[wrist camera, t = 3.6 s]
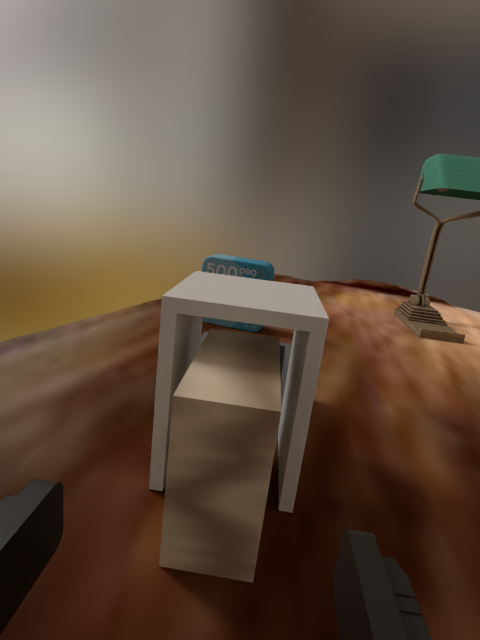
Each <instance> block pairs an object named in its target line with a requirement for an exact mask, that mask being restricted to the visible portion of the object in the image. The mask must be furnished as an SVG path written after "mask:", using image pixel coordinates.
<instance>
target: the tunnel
mask: <svg viewBox="0 0 480 640" xmlns="http://www.w3.org/2000/svg"><path fill="white" fill-rule="evenodd" d="M203 317H208V318H215V319H222V320H229V321H236V322H243V323H251V324H258V325H265V326H272V327H279V328H286V329H293V330H294V335H293V341H292V347H291V353H290V360H289V366H288V372H287V378H286V384H285V390H284V396H283V402H282V408H281V417H280V423H279V429H278V501H279V511H285V512H291V513H293V507H294V502H295V497H296V491H297V486H298V481H299V476H300V470H301V465H302V460H303V454H304V449H305V444H306V438H307V433H308V428H309V422H310V417H311V412H312V407H313V401H314V396H315V391H316V385H317V380H318V375H319V369H320V364H321V359H322V354H323V348H324V343H325V338H326V332H327V327H328V322H329V318H328V316H327V314H326V312H325V310H324V308H323V306H322V304H321V302H320V300H319V298H318V296H317V294H316V291H315V289H314V287H312V286H305V285H297V284H290V283H282V282H275V281H267V280H260V279H253V278H245V277H238V276H230V275H223V274H215V273H208V272H200V271H195V272H194V273H193V274H191V275H190V276H189V277H187V278H186V279H184V280H183V281H182V282H180V283H179V284H178V285H176V286H175V287H174V288H172V289H171V290H169V291H168V292H167V293H165V294H164V295H162V306H161V320H160V335H159V350H158V364H157V379H156V394H155V408H154V423H153V438H152V452H151V467H150V482H149V489H152V490H158V491H163V489H164V486H165V484H166V475H167V463H168V450H169V438H170V426H171V414H172V401H173V395H174V393H175V391H176V389H177V387H178V386H179V384H180V382H181V380H182V379H183V377H184V375H185V373H186V372H187V370H188V368H189V366H190V364H191V363H192V361H193V359H194V357H195V356H196V354H197V352H198V350H199V349H200V340H201V330H202V320H203Z"/></svg>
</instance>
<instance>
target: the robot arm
mask: <svg viewBox="0 0 480 640" xmlns="http://www.w3.org/2000/svg"><path fill="white" fill-rule="evenodd" d="M62 533H63V485H62V484H61V483H59V482H53V481H47V480H40V479H33V480H32V481H30V482H29V483H28V484H27V485H26V486H25V488H24V489H23V490H22V491H21V492H20V493H19V494H18V495H17V496H12V495H8V496H7V497H5V498H3V499H2V500H0V634H1V633H2V631H3V630H4V628H5V627H6V625H7V624H8V622H9V621H10V619H11V618H12V616H13V615H14V613H15V612H16V610H17V609H18V607H19V606H20V604H21V603H22V601H23V600H24V598H25V597H26V595H27V594H28V592H29V591H30V589H31V588H32V586H33V585H34V583H35V582H36V580H37V578H38V577H39V575H40V574H41V572H42V571H43V569H44V568H45V566H46V565H47V563H48V562H49V560H50V559H51V557H52V556H53V554H54V553H55V551H56V549H57V547H58V545H59V543H60V540H61V537H62ZM333 593H334V603H335V609H336V616H337V622H338V629H339V635H340V640H432V639H431V637H430V634H429V631H428V629H427V626H426V623H425V621H424V618H422V612H421V610H420V607H419V604H418V602H417V601H416V596H415V594H414V591H413V588H412V586H411V583H410V580H409V577H408V576H407V574H406V573H405V572H404V570H403V569H402V568H401V567H400V565H399V564H398V563H397V561H396V560H395V559H394V558H392V557H385V556H381V553H380V550H379V547H378V544H377V540H376V537H375V535H374V534H373V533H370V532H364V531H358V530H351V529H345V530H344V532H343V535H342V540H341V544H340V549H339V554H338V558H337V563H336V568H335V572H334V582H333Z"/></svg>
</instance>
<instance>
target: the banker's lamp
mask: <svg viewBox="0 0 480 640" xmlns="http://www.w3.org/2000/svg"><path fill="white" fill-rule="evenodd" d="M419 193H424V194H432V195H441V196H449V197H458V198H467V199H475V200H480V158H476V157H467V156H458V155H448V154H437V155H435V156H432V157H430V158H428V159H427V160H426V162H425V163H424V166H423V169H422V172H421V175H420V178H419V182H418V185H417V189H416V193H415V195H414V198H413V202H414V204H415V206H416V207H417V208H418V209H420V210H421V211H424V212H425V213H427V214H428V215H430V216H432V217H434V218H436V220H437V221H436V224H435V227H434V230H433V233H432V236H431V240H430V244H429V248H428V252H427V256H426V260H425V264H424V269H423V273H422V277H421V281H420V285H419V289H418V293H417V295H411V297H410V299H409V301H404V302H402V303H401V304H400V305H399V306H397V308H395V310H394V314H395V315H396V316H397V317H398V318H399V319H400V320H401V321H402V322H403V323H404V324H405V325H407V326H408V327H409V328H410V329H411V330H412V331H413V332H414V333H415V334H416V335H417V336H419V337H421V338H428V339H435V340H442V341H449V342H456V343H463V341H464V338H465V335H464V334H458V333H456V332H455V331H453V330H452V329H451V328H449V327H448V326H447V324H446V323H445V321H444V320H443V319H442V318H443V317H441V316H440V315H441V314H440V313H439V312H438V311H437V310H436V309H434V308H432V307H431V306H429V304H430V300H429V297H426V296H424V295H425V292H426V287H427V283H428V279H429V275H430V271H431V267H432V263H433V259H434V255H435V251H436V247H437V243H438V239H439V235H440V233H441V230H442V227H443V225H444V224H445V223H446V222H448V221H453V220H459V219H465V218H472V217H478V216H480V211H478V212H473V213H468V214H463V215H459V216H454V217H449V218H446V219H444V220H442V221H441V222H440V220H439V219H438V218H437V217H436V216H434V215H433V214H432V213H430V212H429V211H427V210H426V209H424V208H423V207H422V206H420V205H419V204H417V203H416V200H417V197H418V194H419Z"/></svg>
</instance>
